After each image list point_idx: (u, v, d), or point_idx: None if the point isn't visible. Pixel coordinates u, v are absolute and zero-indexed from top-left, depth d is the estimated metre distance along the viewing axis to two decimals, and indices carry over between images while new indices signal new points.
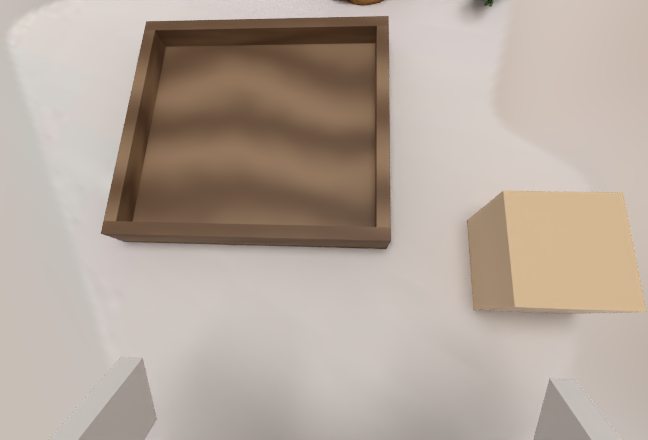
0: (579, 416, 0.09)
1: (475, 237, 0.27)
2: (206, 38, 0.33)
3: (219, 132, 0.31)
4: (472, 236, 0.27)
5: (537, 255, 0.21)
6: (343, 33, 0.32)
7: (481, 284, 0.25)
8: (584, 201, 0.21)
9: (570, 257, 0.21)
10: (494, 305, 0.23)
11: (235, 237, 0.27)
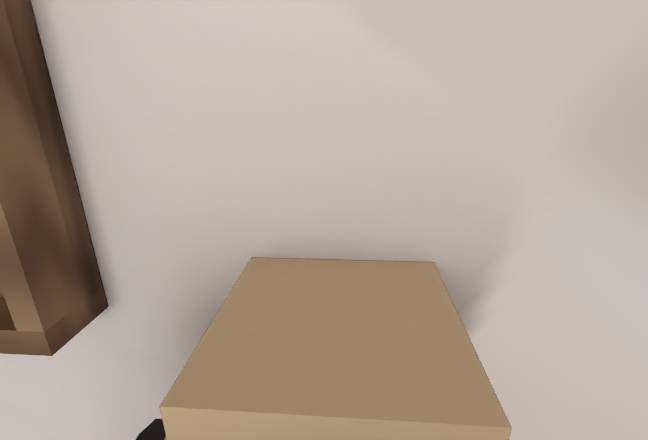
0: None
1: None
2: None
3: None
4: None
5: None
6: None
7: None
8: None
9: None
10: None
11: None
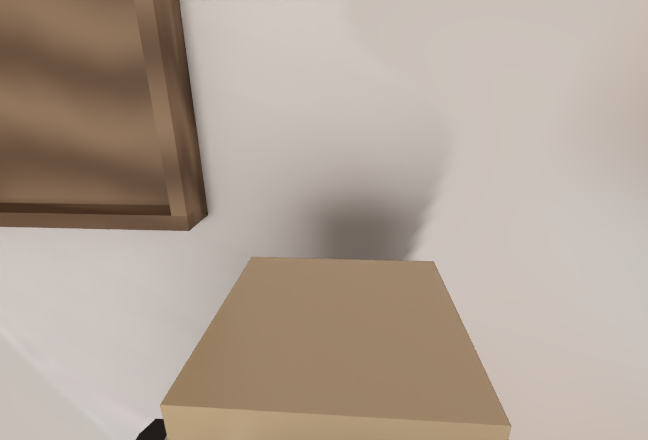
0: None
1: None
2: None
3: None
4: None
5: None
6: None
7: None
8: None
9: None
10: None
11: None
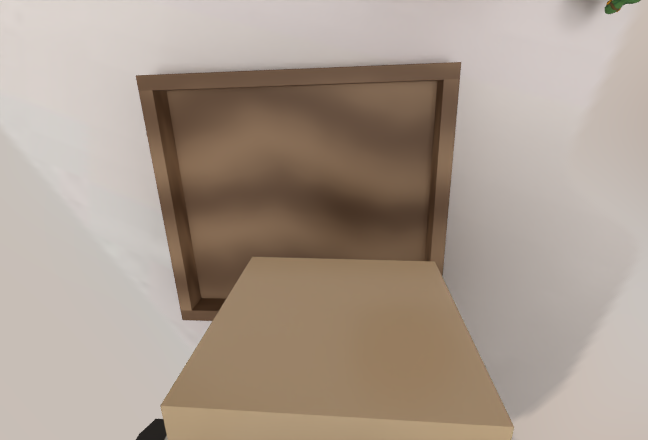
0: None
1: None
2: (218, 88, 0.25)
3: (260, 206, 0.29)
4: None
5: None
6: (397, 81, 0.24)
7: None
8: None
9: None
10: None
11: None
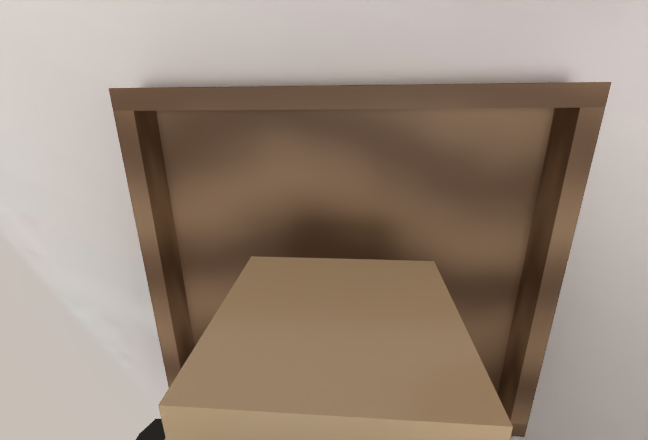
0: None
1: None
2: None
3: None
4: None
5: None
6: None
7: None
8: None
9: None
10: None
11: None
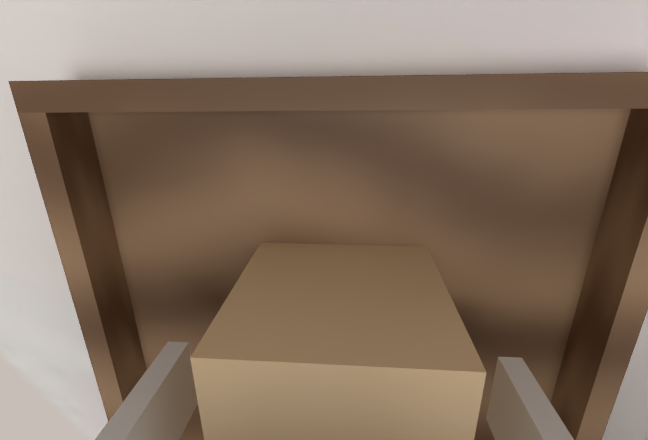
0: (518, 388, 0.10)
1: None
2: None
3: None
4: None
5: None
6: None
7: None
8: (384, 388, 0.08)
9: None
10: None
11: None
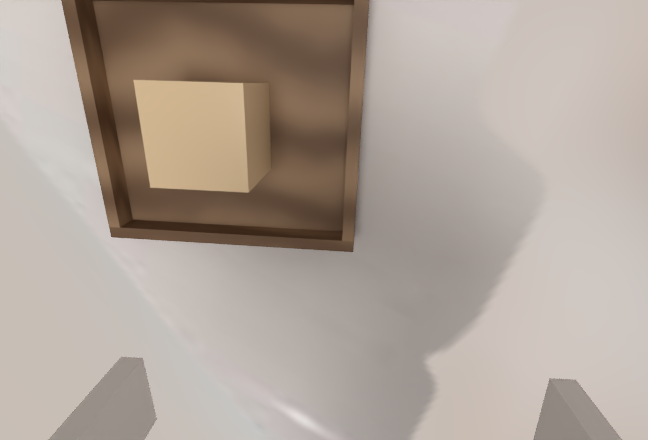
0: (579, 416, 0.09)
1: None
2: None
3: None
4: None
5: (165, 144, 0.23)
6: (313, 0, 0.25)
7: None
8: (207, 93, 0.22)
9: (193, 147, 0.23)
10: None
11: None
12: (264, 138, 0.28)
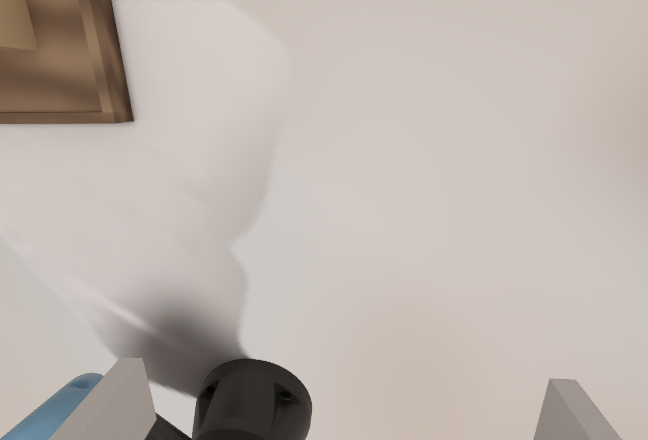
0: (578, 416, 0.09)
1: None
2: None
3: None
4: None
5: None
6: None
7: None
8: None
9: None
10: None
11: (4, 123, 0.34)
12: (9, 11, 0.31)
